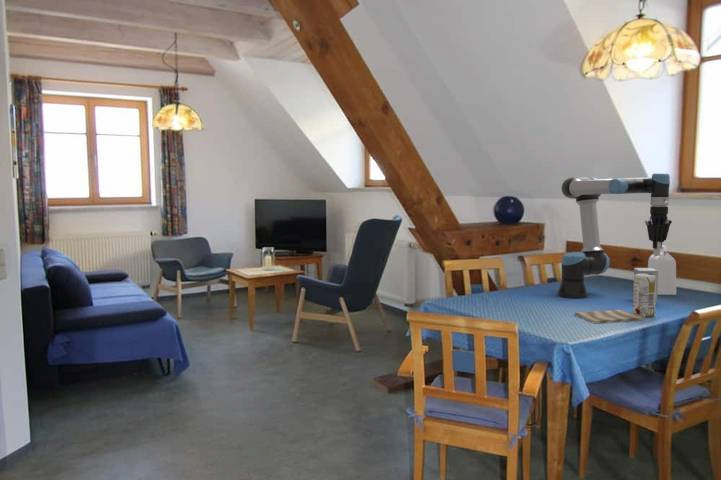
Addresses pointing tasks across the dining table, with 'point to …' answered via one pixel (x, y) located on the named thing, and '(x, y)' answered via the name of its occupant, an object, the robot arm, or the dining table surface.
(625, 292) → the dining table surface
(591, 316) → the wooden board
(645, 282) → the juice carton
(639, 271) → the supplement box
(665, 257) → the milk
